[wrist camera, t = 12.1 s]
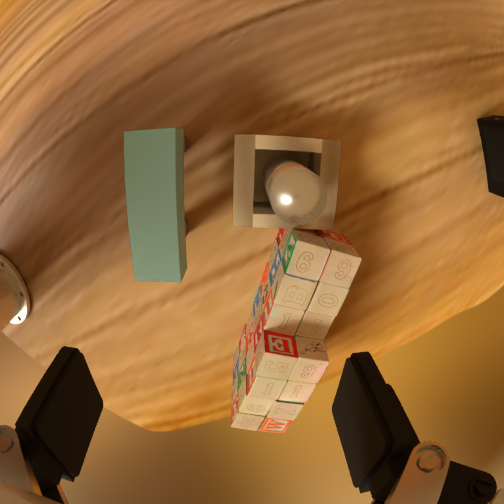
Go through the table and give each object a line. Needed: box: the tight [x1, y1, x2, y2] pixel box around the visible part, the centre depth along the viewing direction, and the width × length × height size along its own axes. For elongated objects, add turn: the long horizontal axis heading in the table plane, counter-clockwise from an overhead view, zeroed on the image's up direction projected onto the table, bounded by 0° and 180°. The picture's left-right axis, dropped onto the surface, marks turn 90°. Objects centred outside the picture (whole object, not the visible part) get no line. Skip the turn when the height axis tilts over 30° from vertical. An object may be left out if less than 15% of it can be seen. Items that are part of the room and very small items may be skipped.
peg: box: [262, 156, 327, 225], centre depth 25 cm, size 4×4×10 cm
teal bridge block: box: [124, 128, 188, 283], centre depth 26 cm, size 4×12×10 cm, turn 178°
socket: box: [233, 134, 342, 230], centre depth 27 cm, size 9×8×6 cm
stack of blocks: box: [231, 226, 362, 433], centre depth 30 cm, size 21×6×12 cm, turn 164°
